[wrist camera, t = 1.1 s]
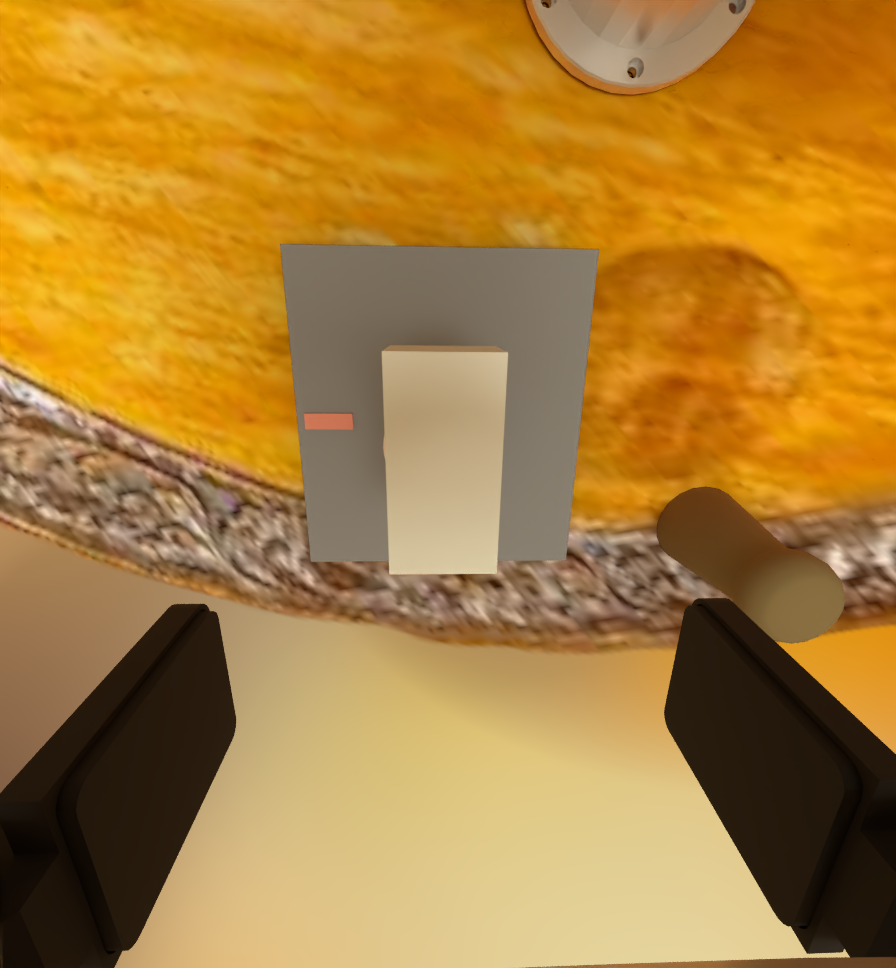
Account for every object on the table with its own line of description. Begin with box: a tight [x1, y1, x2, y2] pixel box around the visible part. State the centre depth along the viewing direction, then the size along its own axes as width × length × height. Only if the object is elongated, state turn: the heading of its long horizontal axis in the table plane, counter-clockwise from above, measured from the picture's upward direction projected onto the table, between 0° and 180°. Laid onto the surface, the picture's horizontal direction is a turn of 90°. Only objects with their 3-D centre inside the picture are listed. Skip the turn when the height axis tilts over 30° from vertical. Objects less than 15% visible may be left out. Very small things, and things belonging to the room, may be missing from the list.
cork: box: [657, 487, 845, 643], centre depth 30 cm, size 6×6×11 cm
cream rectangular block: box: [382, 345, 508, 574], centre depth 24 cm, size 10×6×7 cm, turn 179°
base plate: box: [280, 244, 599, 562], centre depth 29 cm, size 20×18×4 cm
